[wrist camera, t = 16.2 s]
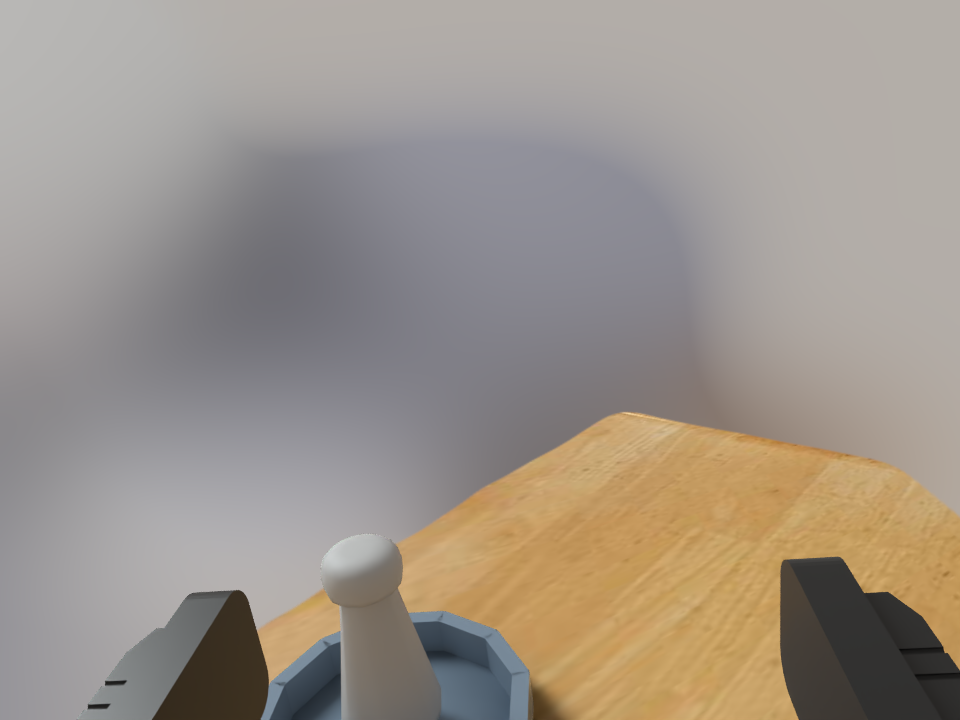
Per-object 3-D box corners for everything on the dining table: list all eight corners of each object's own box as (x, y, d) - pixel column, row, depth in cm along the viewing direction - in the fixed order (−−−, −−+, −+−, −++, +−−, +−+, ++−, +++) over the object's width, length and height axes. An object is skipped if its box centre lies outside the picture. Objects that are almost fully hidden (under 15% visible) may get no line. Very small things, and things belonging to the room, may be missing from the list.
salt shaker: (456, 701, 46) (424, 517, 42) (437, 782, 41) (397, 581, 36) (365, 699, 47) (325, 520, 43) (335, 778, 42) (285, 582, 38)
